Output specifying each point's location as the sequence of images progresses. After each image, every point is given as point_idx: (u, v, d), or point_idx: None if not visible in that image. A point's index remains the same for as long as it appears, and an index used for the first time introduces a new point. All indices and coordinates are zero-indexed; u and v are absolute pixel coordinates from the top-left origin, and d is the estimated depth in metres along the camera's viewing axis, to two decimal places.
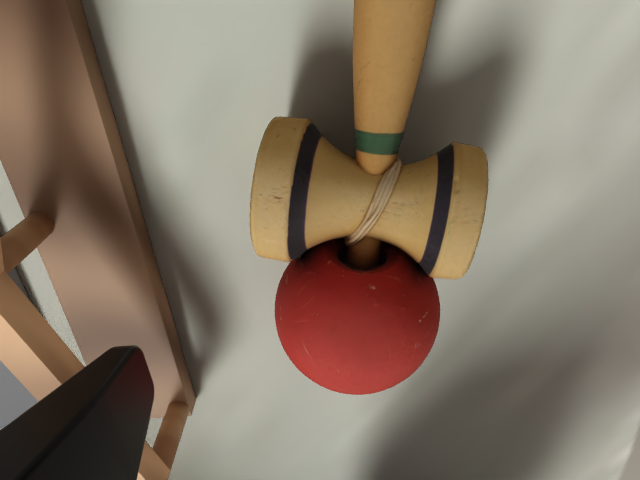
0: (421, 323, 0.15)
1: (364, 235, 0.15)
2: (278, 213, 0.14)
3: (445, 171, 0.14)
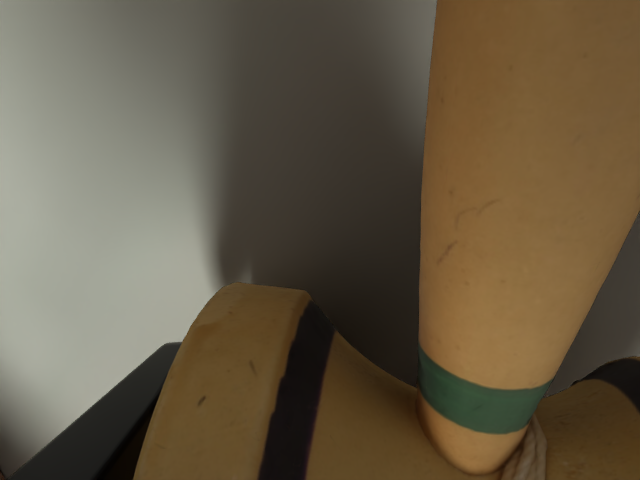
0: None
1: None
2: None
3: None
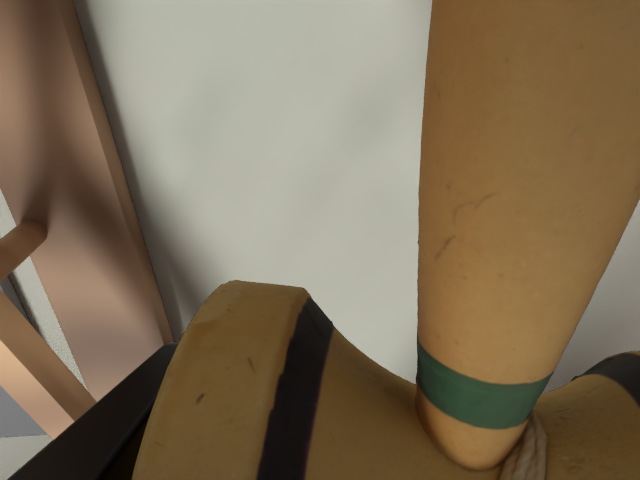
0: None
1: None
2: None
3: None
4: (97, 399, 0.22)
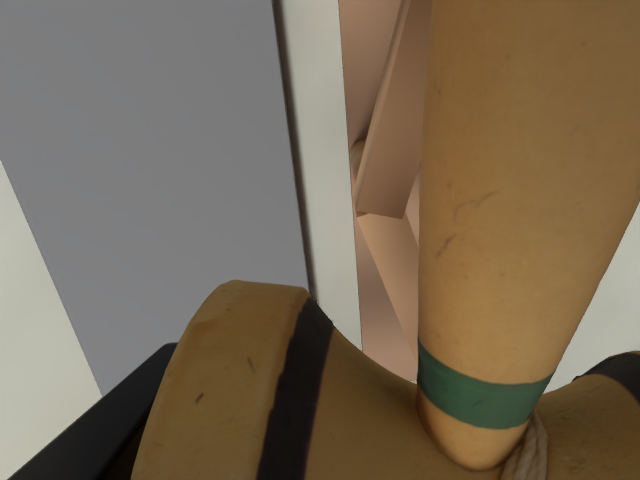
0: None
1: None
2: None
3: None
4: (369, 348, 0.20)
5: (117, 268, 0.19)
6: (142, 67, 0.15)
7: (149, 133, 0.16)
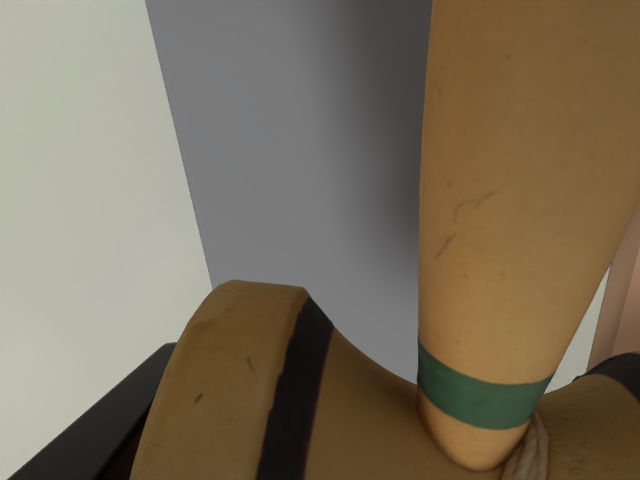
0: None
1: None
2: None
3: None
4: None
5: None
6: (403, 55, 0.11)
7: (390, 143, 0.12)
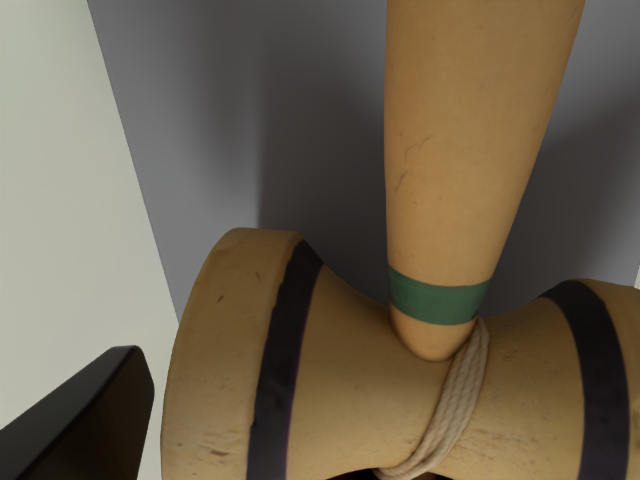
0: None
1: None
2: None
3: (601, 375, 0.06)
4: None
5: None
6: None
7: None
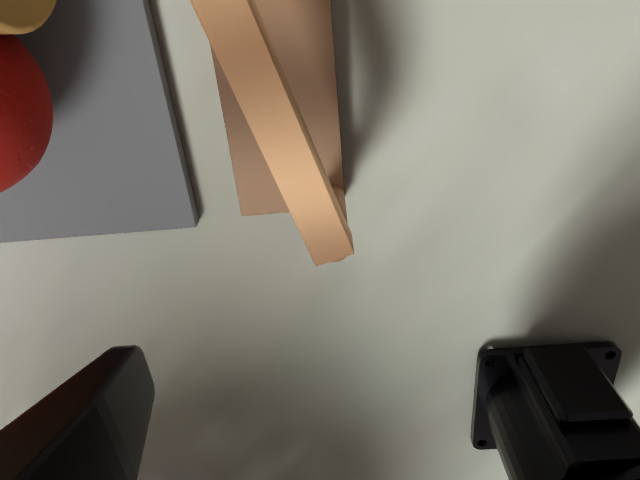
0: None
1: None
2: None
3: None
4: (239, 166, 0.18)
5: None
6: None
7: None
